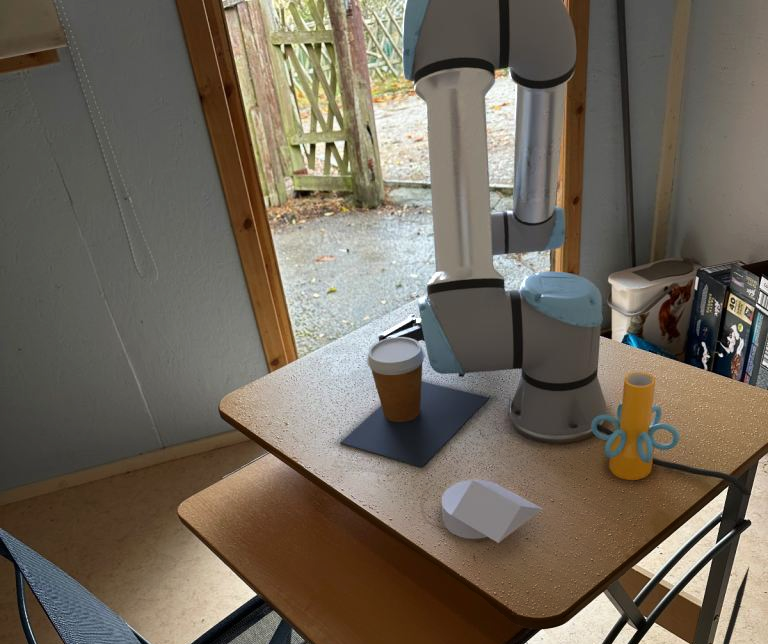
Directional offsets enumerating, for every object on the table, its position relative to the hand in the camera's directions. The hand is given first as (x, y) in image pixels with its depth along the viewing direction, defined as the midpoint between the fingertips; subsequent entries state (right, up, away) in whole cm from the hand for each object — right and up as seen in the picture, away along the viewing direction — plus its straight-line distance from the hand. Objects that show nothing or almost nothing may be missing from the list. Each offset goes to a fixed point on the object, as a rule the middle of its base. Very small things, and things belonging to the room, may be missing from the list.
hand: (420, 367), depth 129 cm
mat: (-1, -9, +1) cm, 9 cm away
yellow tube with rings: (+30, -18, -15) cm, 38 cm away
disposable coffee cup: (-3, -7, +3) cm, 9 cm away
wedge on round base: (+8, -26, -21) cm, 34 cm away
